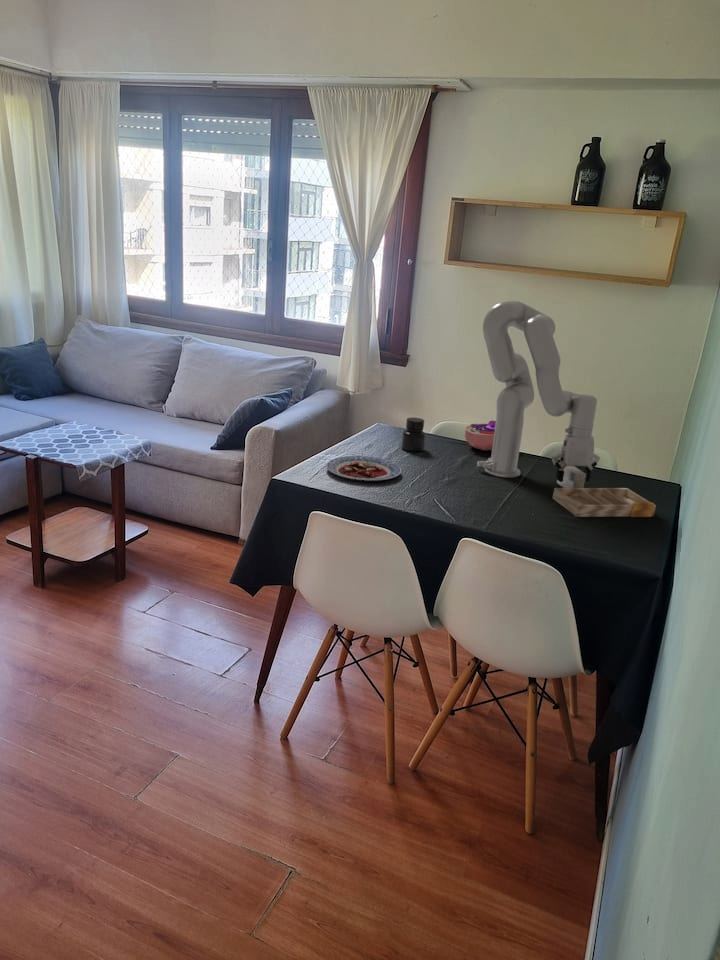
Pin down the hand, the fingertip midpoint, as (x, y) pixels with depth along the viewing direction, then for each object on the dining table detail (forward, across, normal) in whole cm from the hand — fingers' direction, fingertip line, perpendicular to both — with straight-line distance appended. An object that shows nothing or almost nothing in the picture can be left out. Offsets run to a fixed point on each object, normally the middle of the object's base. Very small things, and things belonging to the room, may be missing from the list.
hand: (572, 480), depth 229 cm
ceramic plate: (+2, -70, +16) cm, 72 cm away
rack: (+3, +2, -18) cm, 18 cm away
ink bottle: (+1, -44, +44) cm, 63 cm away
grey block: (+3, 0, 0) cm, 3 cm away
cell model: (+2, -14, +46) cm, 48 cm away
